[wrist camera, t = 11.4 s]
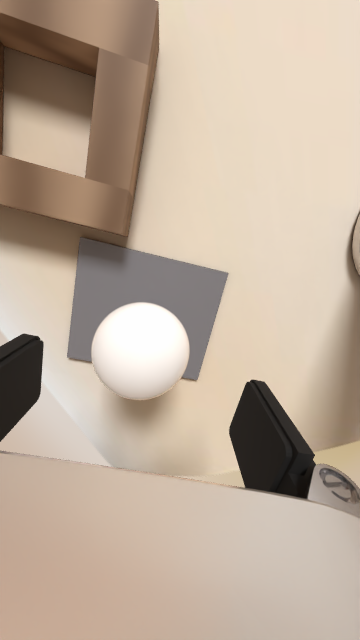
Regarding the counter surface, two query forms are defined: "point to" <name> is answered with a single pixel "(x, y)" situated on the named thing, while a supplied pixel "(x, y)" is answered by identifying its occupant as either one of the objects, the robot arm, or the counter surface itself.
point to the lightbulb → (140, 351)
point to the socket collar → (108, 106)
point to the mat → (142, 295)
